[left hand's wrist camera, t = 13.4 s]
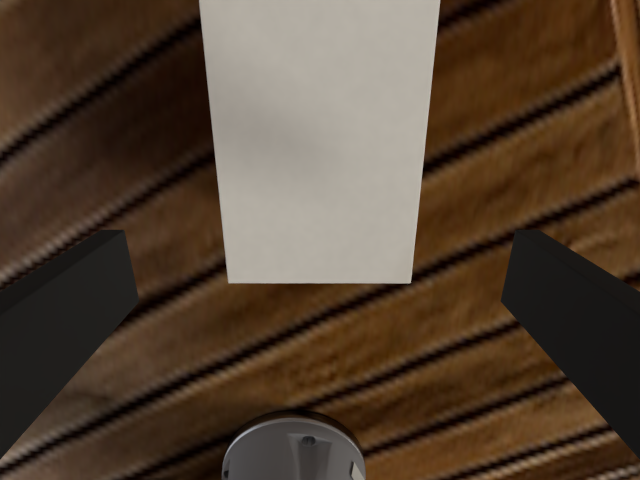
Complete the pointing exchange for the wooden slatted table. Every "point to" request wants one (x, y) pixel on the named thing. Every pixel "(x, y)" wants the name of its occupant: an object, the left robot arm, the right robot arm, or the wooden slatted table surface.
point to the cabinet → (319, 134)
